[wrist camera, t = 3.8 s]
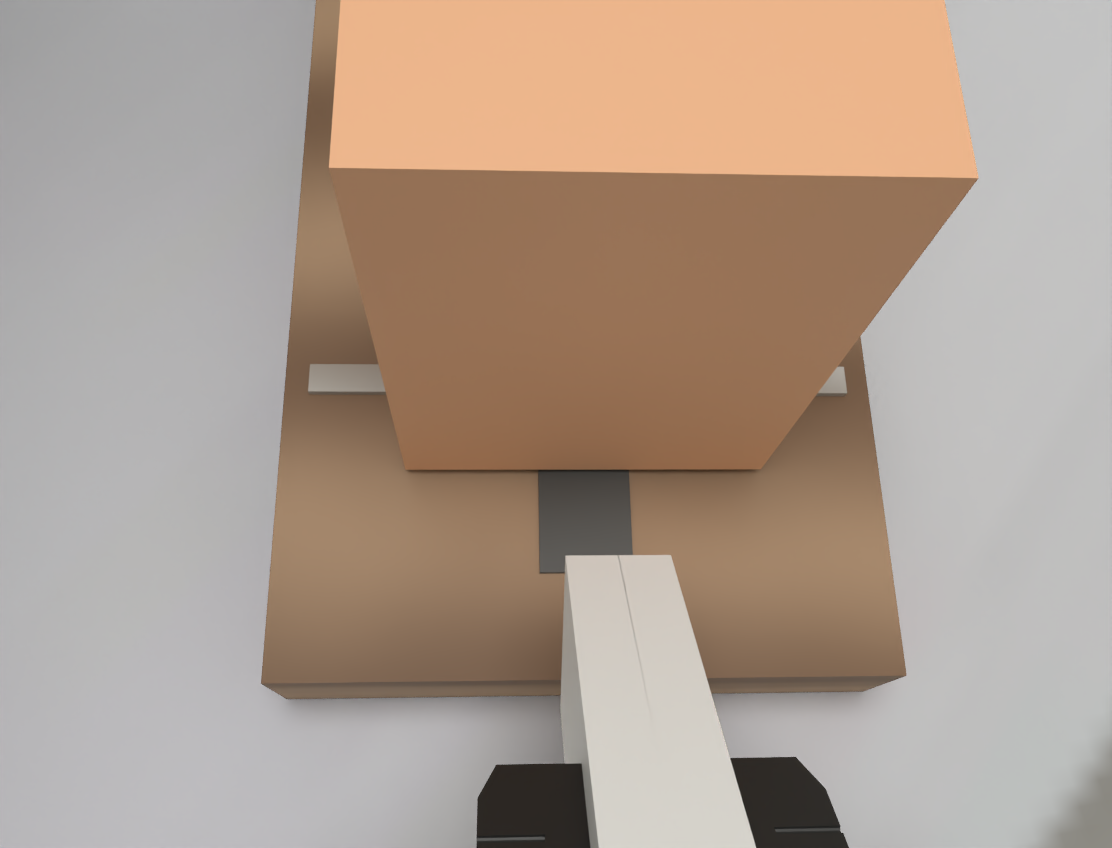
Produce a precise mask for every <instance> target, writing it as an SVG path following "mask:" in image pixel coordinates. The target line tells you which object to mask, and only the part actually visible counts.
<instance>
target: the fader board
mask: <svg viewBox="0 0 1112 848" xmlns="http://www.w3.org/2000/svg"><path fill="white" fill-rule="evenodd" d="M340 1H341V0H316V7H315V20H314V32H313V44H312V57H311V69H310V82H309V94H308V107H307V119H306V131H305V144H304V156H303V169H302V181H301V194H300V206H299V218H298V231H297V243H296V256H295V268H294V281H293V293H292V306H291V318H290V330H289V343H288V355H287V368H286V380H285V393H284V405H283V417H282V430H281V442H280V455H279V467H278V480H277V492H276V504H275V517H274V529H273V542H272V554H271V567H270V579H269V592H268V604H267V616H266V629H265V641H264V654H263V666H262V679H261V684H263V685H264V686H266V687H268V688H269V689H271V690H273V691H274V692H276V693H278V694H279V695H281V696H283V697H284V698H286V699H322V698H398V697H474V696H550V695H561V672H562V642H563V612H564V583H565V556H569V555H671V557H672V561H673V564H674V567H675V571H676V574H677V578H678V581H679V585H680V588H681V591H682V595H683V598H684V602H685V605H686V609H687V612H688V615H689V619H690V622H691V626H692V629H693V633H694V636H695V639H696V643H697V646H698V650H699V653H700V657H701V660H702V664H703V667H704V670H705V674H706V677H707V681H708V684H709V688H710V691H711V693H778V692H854V691H865V690H868V689H871V688H874V687H876V686H879V685H882V684H885V683H887V682H890V681H893V680H896V679H898V678H901V677H904V676H906V669H905V661H904V654H903V647H902V639H901V632H900V625H899V617H898V610H897V603H896V595H895V588H894V581H893V573H892V566H891V559H890V551H889V544H888V537H887V529H886V522H885V515H884V507H883V500H882V492H881V485H880V478H879V470H878V463H877V456H876V448H875V441H874V434H873V426H872V419H871V412H870V404H869V397H868V390H867V382H866V375H865V368H864V360H863V353H862V346H861V338H860V337H859V339H858V340H857V341H856V343H855V344H854V345H853V347H852V348H851V349H850V351H849V352H848V353H847V355H846V356H845V357H844V359H843V360H842V361H841V363H840V364H839V365H838V367H837V368H836V369H835V371H834V372H833V373H832V375H831V376H830V377H829V379H828V380H827V381H826V383H825V384H824V385H823V387H822V388H821V389H820V391H819V392H818V393H817V395H816V396H815V397H814V399H813V400H812V401H811V403H810V404H809V405H808V407H807V408H806V409H805V411H804V412H803V413H802V415H801V416H800V418H799V419H798V420H797V422H796V423H795V424H794V426H793V427H792V428H791V430H790V431H789V432H788V434H787V435H786V436H785V438H784V439H783V440H782V442H781V443H780V444H779V446H778V447H777V448H776V450H775V451H774V452H773V454H772V455H771V456H770V458H769V459H768V460H767V462H766V463H765V464H764V466H763V467H762V468H761V469H664V470H405V466H404V462H403V458H402V454H401V451H400V447H399V443H398V439H397V435H396V431H395V427H394V423H393V419H392V415H391V411H390V407H389V403H388V399H387V395H386V391H385V387H384V383H383V379H382V376H381V372H380V368H379V364H378V360H377V356H376V352H375V348H374V344H373V340H372V336H371V332H370V328H369V324H368V320H367V316H366V312H365V308H364V305H363V301H362V297H361V293H360V289H359V285H358V281H357V277H356V273H355V269H354V265H353V261H352V257H351V253H350V249H349V245H348V241H347V237H346V234H345V230H344V226H343V222H342V218H341V214H340V210H339V206H338V202H337V198H336V194H335V190H334V186H333V182H332V178H331V174H330V170H329V158H330V144H331V130H332V115H333V101H334V87H335V72H336V58H337V44H338V29H339V15H340Z"/></svg>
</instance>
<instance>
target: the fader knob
mask: <svg viewBox="0 0 1112 848" xmlns="http://www.w3.org/2000/svg"><path fill="white" fill-rule="evenodd" d="M329 170H330V174H331V178H332V182H333V186H334V190H335V194H336V198H337V202H338V206H339V210H340V214H341V218H342V222H343V226H344V230H345V234H346V237H347V241H348V245H349V249H350V253H351V257H352V261H353V265H354V269H355V273H356V277H357V281H358V285H359V289H360V293H361V297H362V301H363V305H364V308H365V312H366V316H367V320H368V324H369V328H370V332H371V336H372V340H373V344H374V348H375V352H376V356H377V360H378V364H379V368H380V372H381V376H382V379H383V383H384V387H385V391H386V395H387V399H388V403H389V407H390V411H391V415H392V419H393V423H394V427H395V431H396V435H397V439H398V443H399V447H400V451H401V454H402V458H403V462H404V466H405V470H664V469H761V468H762V467H763V466H764V464H765V463H766V462H767V460H768V459H769V458H770V456H771V455H772V454H773V452H774V451H775V450H776V448H777V447H778V446H779V444H780V443H781V442H782V440H783V439H784V438H785V436H786V435H787V434H788V432H789V431H790V430H791V428H792V427H793V426H794V424H795V423H796V422H797V420H798V419H799V418H800V416H801V415H802V413H803V412H804V411H805V409H806V408H807V407H808V405H809V404H810V403H811V401H812V400H813V399H814V397H815V396H816V395H817V393H818V392H819V391H820V389H821V388H822V387H823V385H824V384H825V383H826V381H827V380H828V379H829V377H830V376H831V375H832V373H833V372H834V371H835V369H836V368H837V367H838V365H839V364H840V363H841V361H842V360H843V359H844V357H845V356H846V355H847V353H848V352H849V351H850V349H851V348H852V347H853V345H854V344H855V343H856V341H857V340H858V339H859V337H860V336H861V335H862V333H863V332H864V331H865V329H866V328H867V327H868V325H869V324H870V323H871V321H872V320H873V318H874V317H875V316H876V314H877V313H878V312H879V310H880V309H881V308H882V306H883V305H884V304H885V302H886V301H887V300H888V298H889V297H890V296H891V294H892V293H893V292H894V290H895V289H896V288H897V286H898V285H899V284H900V282H901V281H902V280H903V278H904V277H905V276H906V274H907V273H908V272H909V270H910V269H911V268H912V266H913V265H914V264H915V262H916V261H917V260H918V258H919V257H920V256H921V254H922V253H923V252H924V250H925V249H926V248H927V246H928V245H929V244H930V242H931V241H932V240H933V238H934V237H935V236H936V234H937V233H938V232H939V230H940V229H941V228H942V226H943V225H944V224H945V222H946V221H947V219H948V218H949V217H950V215H951V214H952V213H953V211H954V210H955V209H956V207H957V206H958V205H959V203H960V202H961V201H962V199H963V198H964V197H965V195H966V194H967V193H968V191H969V190H970V189H971V187H972V186H973V185H974V183H975V182H976V181H977V179H978V173H977V168H976V163H975V157H974V152H973V147H972V142H971V137H970V131H969V126H968V121H967V116H966V111H965V105H964V100H963V95H962V90H961V85H960V80H959V74H958V69H957V64H956V59H955V54H954V48H953V43H952V38H951V33H950V28H949V22H948V17H947V12H946V7H945V2H944V0H341V1H340V15H339V29H338V44H337V58H336V72H335V87H334V101H333V115H332V130H331V144H330V158H329Z"/></svg>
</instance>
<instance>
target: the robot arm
mask: <svg viewBox="0 0 1112 848" xmlns="http://www.w3.org/2000/svg"><path fill="white" fill-rule="evenodd" d="M560 714H561V726H562V738H563V750H564V762H565V764H514V765H496V766H495V768H494V770H493V772H492V774H491V775H490V777H489V779H488V781H487V782H486V784H485V786H484V788H483V789H482V791H481V793H480V795H479V797H478V809H477V848H849V847H848V844H847V842H846V839H845V837H844V834H843V833H841V832H840V824H839V822H838V819H837V817H836V814H835V812H834V809H833V806H832V804H831V801H830V799H829V796H828V794H827V791H826V789H825V788H824V787H823V786H822V785H821V783H820V782H819V781H818V780H817V779H816V778H815V777H814V776H813V775H812V774H811V773H810V772H809V771H808V770H807V769H806V768H805V767H804V766H803V764H802V763H801V762H800V761H799V760H798V759H797V758H796V757H772V758H730V756H729V753H728V749H727V746H726V742H725V739H724V736H723V732H722V729H721V725H720V722H719V718H718V715H717V712H716V708H715V705H714V701H713V698H712V694H711V691H710V688H709V684H708V681H707V677H706V674H705V670H704V667H703V664H702V660H701V657H700V653H699V650H698V646H697V643H696V639H695V636H694V633H693V629H692V626H691V622H690V619H689V615H688V612H687V609H686V605H685V602H684V598H683V595H682V591H681V588H680V585H679V581H678V578H677V574H676V571H675V567H674V564H673V561H672V557H671V555H569V556H565V583H564V612H563V642H562V672H561V702H560Z"/></svg>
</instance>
